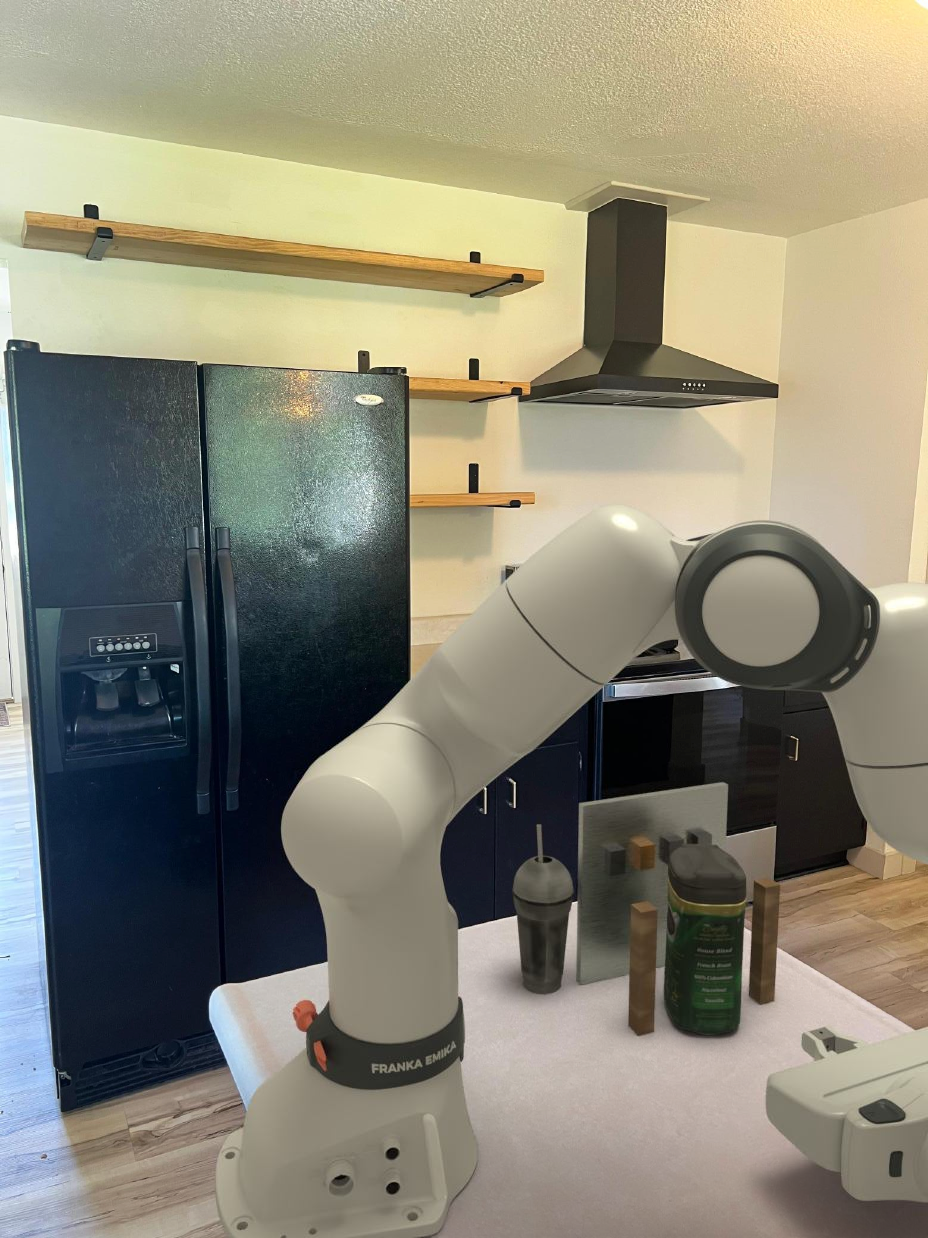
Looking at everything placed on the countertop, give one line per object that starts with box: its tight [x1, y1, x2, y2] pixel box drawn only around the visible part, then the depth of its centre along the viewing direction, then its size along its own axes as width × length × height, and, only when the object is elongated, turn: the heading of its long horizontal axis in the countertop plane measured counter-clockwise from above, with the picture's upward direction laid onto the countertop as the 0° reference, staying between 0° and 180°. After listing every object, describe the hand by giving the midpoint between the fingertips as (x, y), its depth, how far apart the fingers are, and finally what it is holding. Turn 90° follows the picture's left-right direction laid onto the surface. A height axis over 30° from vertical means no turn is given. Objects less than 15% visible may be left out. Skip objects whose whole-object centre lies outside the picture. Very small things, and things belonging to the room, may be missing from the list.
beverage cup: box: [511, 823, 575, 995], centre depth 104 cm, size 7×7×20 cm
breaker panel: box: [575, 781, 729, 986], centre depth 107 cm, size 20×2×22 cm, turn 111°
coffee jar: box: [663, 844, 747, 1036], centre depth 99 cm, size 10×8×19 cm
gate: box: [627, 877, 781, 1037], centre depth 99 cm, size 18×2×14 cm, turn 111°
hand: (813, 1036), depth 84 cm, fingers closed
